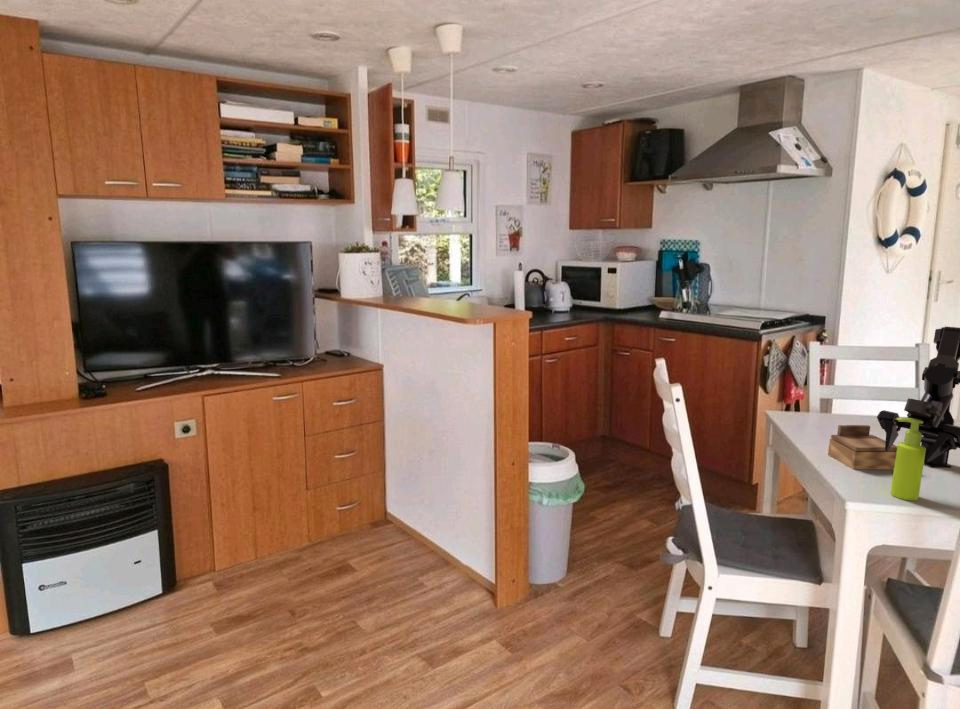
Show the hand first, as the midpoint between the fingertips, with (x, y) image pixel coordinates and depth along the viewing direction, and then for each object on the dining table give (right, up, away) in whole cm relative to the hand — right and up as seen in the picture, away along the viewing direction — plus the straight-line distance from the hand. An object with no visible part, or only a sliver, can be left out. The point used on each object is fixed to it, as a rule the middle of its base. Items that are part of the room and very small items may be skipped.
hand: (906, 455), depth 158 cm
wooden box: (+6, -6, +28) cm, 29 cm away
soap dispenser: (+1, -11, +3) cm, 11 cm away
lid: (+6, -1, +27) cm, 27 cm away
